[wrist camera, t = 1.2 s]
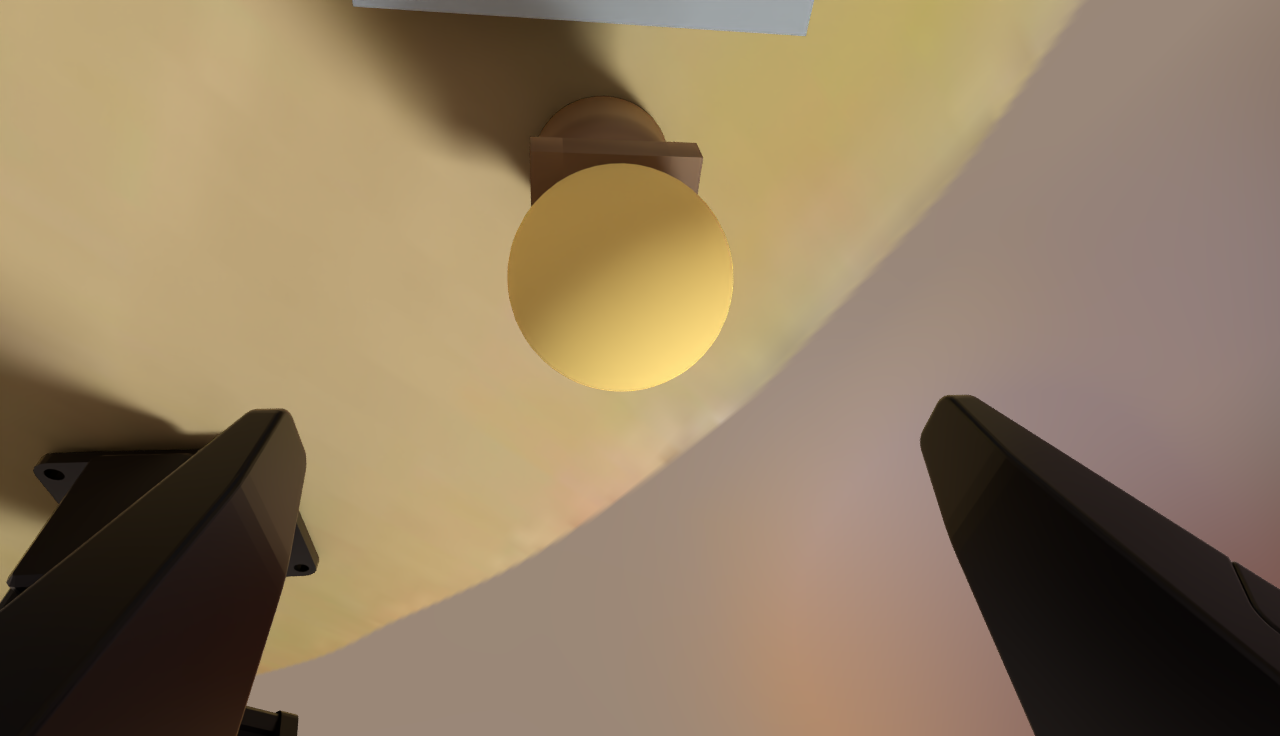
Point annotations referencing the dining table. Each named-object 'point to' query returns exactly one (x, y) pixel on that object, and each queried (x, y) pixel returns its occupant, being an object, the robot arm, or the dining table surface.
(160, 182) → the dining table surface
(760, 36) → the dining table surface
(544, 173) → the egg cup
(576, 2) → the tray
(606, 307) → the ball
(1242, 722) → the robot arm
